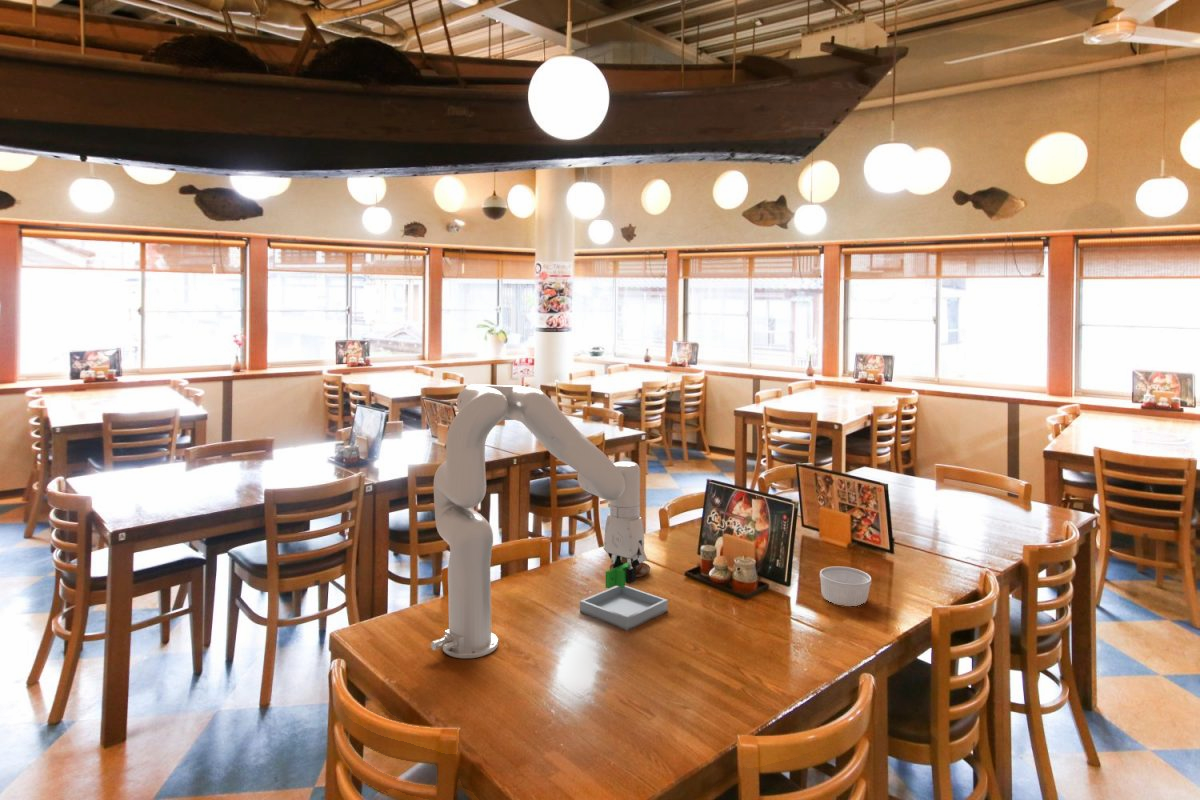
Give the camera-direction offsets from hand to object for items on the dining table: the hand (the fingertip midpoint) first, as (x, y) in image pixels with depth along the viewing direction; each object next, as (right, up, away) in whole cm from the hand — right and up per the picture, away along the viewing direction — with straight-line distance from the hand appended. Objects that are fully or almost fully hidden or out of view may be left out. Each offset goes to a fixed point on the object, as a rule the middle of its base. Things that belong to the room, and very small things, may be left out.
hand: (624, 579), depth 185 cm
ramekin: (+60, -8, +10) cm, 61 cm away
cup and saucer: (+2, -6, +28) cm, 29 cm away
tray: (0, -8, +1) cm, 9 cm away
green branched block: (0, -1, 0) cm, 1 cm away
